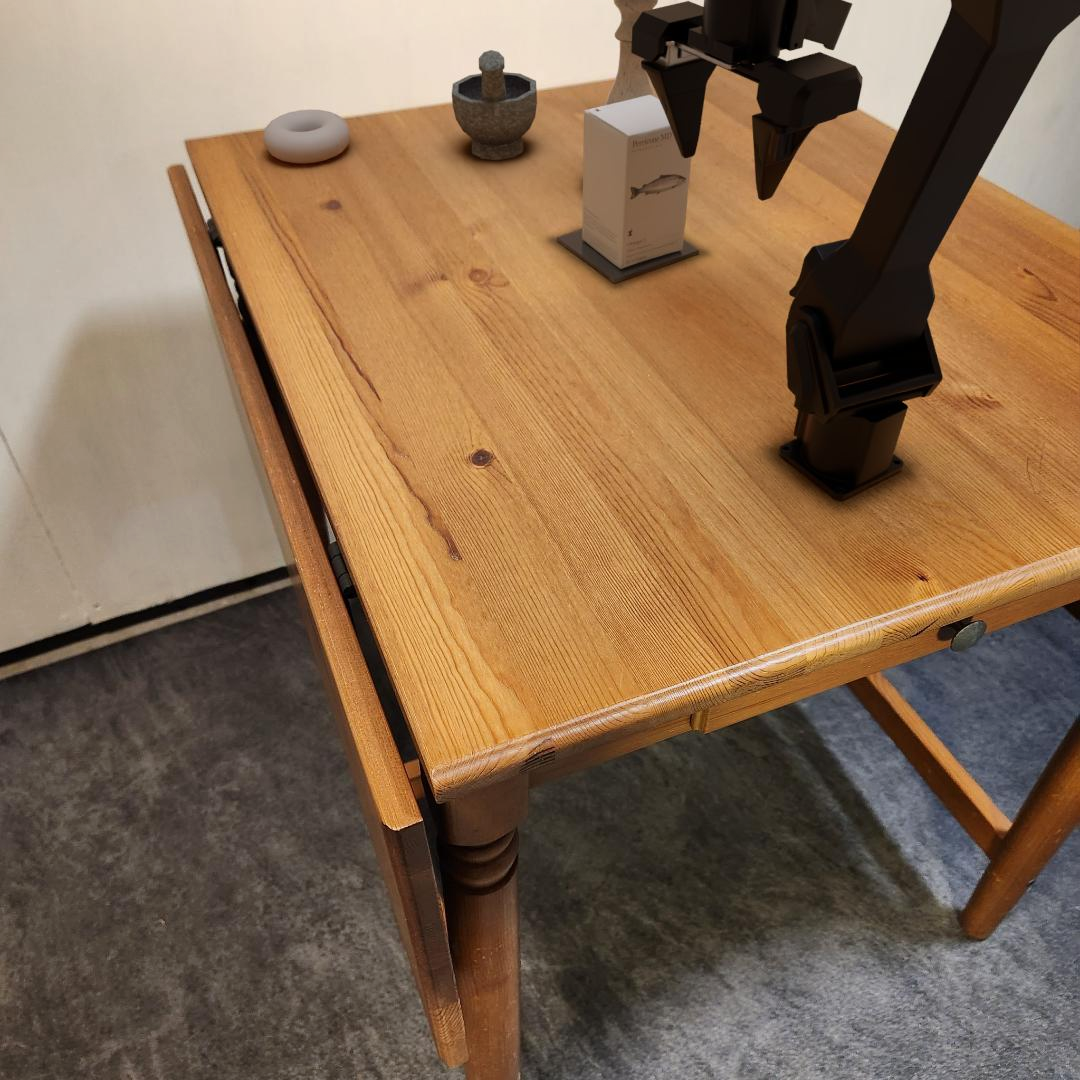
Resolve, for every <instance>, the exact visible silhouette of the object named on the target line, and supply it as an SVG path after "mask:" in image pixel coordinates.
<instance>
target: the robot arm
mask: <svg viewBox="0 0 1080 1080" xmlns="http://www.w3.org/2000/svg"><path fill="white" fill-rule="evenodd" d="M852 6H853V3H852V2H849V1H847V0H703V5H700V4H698V3H696V2H692V1H689V0H686V1H681V2H677V3H673V4H669V5H665V6H660V7H656V8H653V9H651V10H647V11H643V12H642V13H641V15H640V16H639V18H638V19H637V21H636V22H635V24H634V25H633V27H632V45H631V53H632V54H635V55H637V56H639V57H641V58H643V59H644V60H642V61H641V68H642V69H643V70H645V71H646V72H647V74H648V76H649V80H650V83H651V86H652V88H653V90H654V92H655V94H656V96H657V98H658V99H659V100H660V102H661V105H662V107H663V110H664V112H665V115H666V117H667V119H668V122H669V125H670V127H671V130H672V132H673V135H674V138H675V140H676V143H677V145H678V148H679V150H680V153H681V156H682V157H684V158H689V157H691V158H693V157H694V156H695V155H696V152H697V148H698V145H699V144H698V143H699V140H700V134H701V126H702V119H703V113H704V104H705V99H706V91H707V84H708V81H710V78H711V76H712V75H713V73H714V72H715V70H716V68H717V67H720V68H722V69H724V70H726V71H729V72H730V73H734V74H735V75H737V76H740V77H742V78H744V79H747V80H749V81H751V82H753V83H756V84H757V91H756V99H755V100H756V102H757V105H758V107H759V110H760V112H757V113H754V114H752V116H751V125H752V126H751V127H752V140H753V141H752V143H753V156H754V157H753V158H754V159H753V161H754V173H755V174H754V175H755V187H756V193H757V198H758V200H760V201H762V202H764V201H767V200H770V199H772V198H773V196H774V195H775V193H776V191H777V189H778V187H779V185H780V184H781V182H782V180H783V178H784V176H785V175H786V173H787V171H788V169H789V167H790V165H791V163H792V162H793V160H794V158H795V157H796V155H797V153H798V151H799V149H801V148H800V147H801V146H802V145H803V143H804V141H806V139H807V137H808V136H809V134H810V133H811V132H812V131H813V130H814V129H816V127H818V125H821V124H824V123H826V122H829V121H833V120H836V119H837V118H838V117H839V116H843V115H846V114H849V113H852V112H856V111H857V110H858V107H859V102H860V97H861V92H862V88H863V76H862V74H861V73H860V71H859V69H858V67H857V65H854V64H852V63H850V62H847V61H844V60H842V59H839V58H837V57H834V56H831V55H828V54H826V53H823V52H821V51H818V52H814V53H811V54H807V55H803V56H799V57H796V58H793V59H792V58H791V59H788V60H786V59H784V58H781V57H780V56H781V55H780V54H781V51H785V50H786V51H789V52H792V51H795V50H799V49H803V47H804V41H805V40H806V41H811V42H814V43H817V44H821V45H822V46H823V47H824V49H827V50H830V51H834V50H835V48H836V46H837V44H838V41H839V39H840V36H841V34H842V32H843V29H844V26H845V25H846V22H847V19H848V17H849V14H850V13H851V9H852ZM1079 17H1080V0H950V9H949V13H948V16H947V19H946V21H945V24H944V26H943V28H942V30H941V32H940V35H939V37H938V40H936V41H937V42H936V44H935V46H934V48H933V51H932V53H931V54H930V57H929V60H928V62H927V64H926V66H925V68H924V71H923V73H922V75H921V78H920V80H919V81H918V85H917V87H916V89H915V91H914V94H913V96H912V98H911V101H910V102H909V105H908V107H907V110H906V111H905V114H904V116H903V119H902V121H901V123H900V126H899V128H898V130H897V132H896V134H895V137H894V138H893V140H892V143H891V146H890V148H889V150H888V153H887V155H886V158H885V160H884V161H883V164H882V166H881V168H880V171H879V173H878V175H877V178H876V179H875V182H874V184H873V186H872V189H871V191H870V193H869V195H868V198H867V200H866V202H865V205H864V207H863V209H862V212H861V213H860V216H859V219H858V221H857V223H856V225H855V227H854V230H853V232H852V233H851V235H850V237H849V238H844V239H839V240H835V241H832V242H825V243H822V244H818V245H814V246H812V247H811V248H810V249H809V251H808V252H807V253H806V255H805V256H804V259H803V262H802V266H801V270H800V273H799V275H798V276H799V277H798V279H797V281H796V283H795V284H794V286H793V287H791V289H790V290H789V291H788V294H789V296H790V297H792V298H793V300H792V302H791V303H790V307H789V310H788V314H787V319H786V323H785V354H786V355H785V357H786V358H785V359H786V382H787V383H786V385H787V388H788V390H789V391H790V392H791V393H792V394H793V395H794V403H793V407H794V408H795V410H797V415H796V419H795V424H794V429H793V436H794V437H795V439H792V440H790V441H788V442H786V443H783V444H781V445H780V446H779V448H778V449H779V450H778V455H780V456H781V457H782V458H783V459H785V460H786V461H787V462H788V463H790V464H791V465H792V466H793V467H795V468H796V469H797V470H798V471H800V472H801V473H802V474H804V475H805V476H806V477H808V479H810V480H811V481H813V482H814V483H815V484H816V485H818V486H819V487H820V488H821V489H822V490H824V491H826V493H828V494H829V495H830V496H831V497H833V498H834V499H836V500H841V501H843V500H845V499H847V498H849V497H851V496H853V495H855V494H857V493H859V492H861V491H863V490H865V489H867V488H869V487H871V486H873V485H874V484H877V483H878V482H881V481H883V480H885V479H886V478H888V477H891V476H892V475H895V474H896V473H899V472H901V471H902V470H903V468H904V465H905V463H904V461H903V460H902V459H901V458H899V456H897V455H896V454H894V453H895V451H896V447H897V444H898V441H899V437H900V436H901V432H902V428H903V425H904V422H905V419H906V415H907V412H908V408H909V405H908V404H906V403H905V402H906V401H911V400H914V399H918V398H927V397H930V396H931V395H933V393H934V391H935V390H936V389H937V388H938V387H939V386H940V384H941V382H943V378H944V377H943V372H942V369H941V365H940V361H939V357H938V354H937V350H936V347H935V343H934V342H935V341H934V338H933V336H932V332H931V328H930V324H929V320H928V319H929V317H930V313H931V312H932V309H933V306H934V303H935V300H936V293H935V292H936V291H935V287H934V283H933V278H932V273H931V270H930V269H931V268H930V265H931V262H932V260H933V258H934V256H935V254H936V253H937V251H938V249H939V247H940V246H941V244H942V242H943V240H944V238H945V236H946V234H947V233H948V231H949V229H950V227H951V226H952V223H953V222H954V220H955V218H956V216H957V214H958V213H959V211H960V209H961V207H962V206H963V203H964V202H965V200H966V198H967V196H968V194H969V193H970V191H971V189H972V187H973V185H974V184H975V181H976V180H977V177H978V176H979V175H980V172H981V170H982V169H983V167H984V165H985V163H986V162H987V159H988V158H989V156H990V154H991V153H992V150H993V148H994V147H995V145H996V143H997V141H998V139H999V138H1000V136H1001V134H1002V133H1003V130H1004V128H1005V127H1006V125H1007V123H1008V121H1009V119H1010V117H1011V116H1012V114H1013V112H1014V110H1015V108H1016V106H1017V105H1018V103H1019V101H1020V99H1021V97H1022V96H1023V94H1024V92H1025V90H1026V88H1027V86H1028V84H1029V83H1030V81H1031V79H1032V78H1033V75H1034V73H1035V72H1036V70H1037V68H1038V66H1039V65H1040V63H1041V61H1042V59H1043V57H1044V55H1045V54H1046V51H1048V49H1049V47H1050V45H1051V44H1052V42H1053V41H1054V40H1055V38H1057V36H1058V35H1060V33H1061V32H1062V31H1064V30H1065V29H1067V27H1068V26H1070V25H1071V24H1072V23H1073V22H1074V21H1075V20H1076V19H1078V18H1079Z"/></svg>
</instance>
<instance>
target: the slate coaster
mask: <svg viewBox="0 0 1080 1080" xmlns="http://www.w3.org/2000/svg"><path fill="white" fill-rule="evenodd" d="M556 242H558V243H559V244H560V245H561V246H563V247H564V248H566V249H567V250H568V251H569V252H571V253H572V254H574V256H576V257H577V258H578V259H580V260H582V261H583V262H584V263H586V264H588V265H589V267H591V268H593V269H594V270H595V271H597V272H598V273H599V274H601V275H602V276H604V277H605V278H606V279H607V280H609V281H610V282H611V283H613V284H617V283H620V282H622V281H625V280H628V279H632V278H633V277H636V276H637V277H638V276H639V275H642V274H646V273H649V272H651V271H654V270H657V269H660V268H663V267H665V266H668V265H671V264H673V263H676V262H679V261H682V260H684V259H688V258H692V257H693V256H696V255H699V254H700V249H698V248H697V247H695V246H694V245H692V244H690V243H689V242H687V241H686V240H684V241H683V249H682V250H680V251H677V252H672V253H669V254H665V255H662V256H659V257H656V258H652V259H649V260H646V261H642V262H639V263H636V264H633V265H630V266H628V267H625V268H623V269H620V268H618V267H617V266H615V265H614V264H613V263H612V262H610V261H609V260H608V259H607V258H605V257H604V256H603V255H601V254H600V253H599V252H598V251H596V250H595V249H594V248H593V247H591V246H590V245H589V244H588V243H587V242H585V241H584V240H583V239H582V229H579V230H575V231H572V232H569V233H566V234H562V235H559V236H556Z"/></svg>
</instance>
